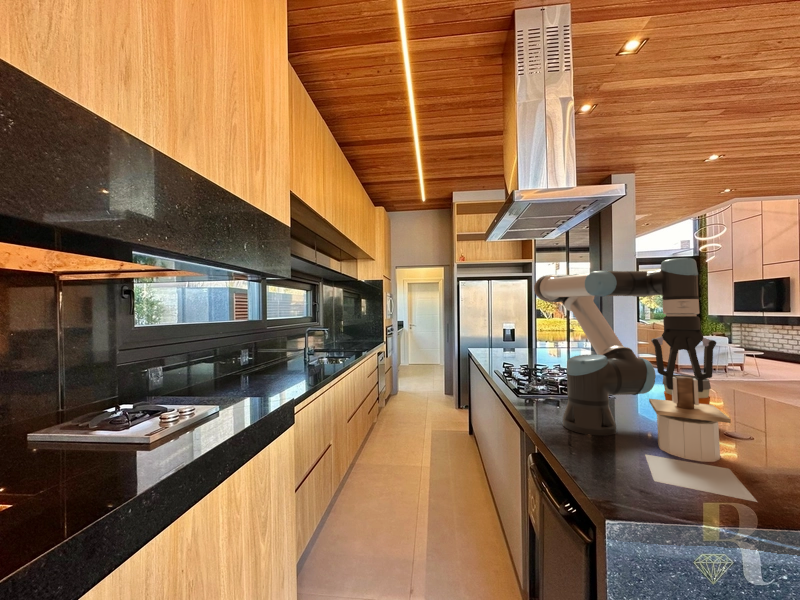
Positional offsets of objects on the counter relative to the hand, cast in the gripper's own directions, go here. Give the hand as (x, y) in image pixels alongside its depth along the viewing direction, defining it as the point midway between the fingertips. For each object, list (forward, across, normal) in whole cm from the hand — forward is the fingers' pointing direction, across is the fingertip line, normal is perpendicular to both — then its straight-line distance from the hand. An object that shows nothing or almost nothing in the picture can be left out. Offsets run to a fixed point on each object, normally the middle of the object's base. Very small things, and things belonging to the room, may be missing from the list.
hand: (685, 402), depth 88 cm
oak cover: (+2, 0, 0) cm, 2 cm away
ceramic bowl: (+13, 0, 0) cm, 13 cm away
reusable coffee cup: (+13, +6, +33) cm, 36 cm away
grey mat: (+13, -2, -16) cm, 21 cm away
